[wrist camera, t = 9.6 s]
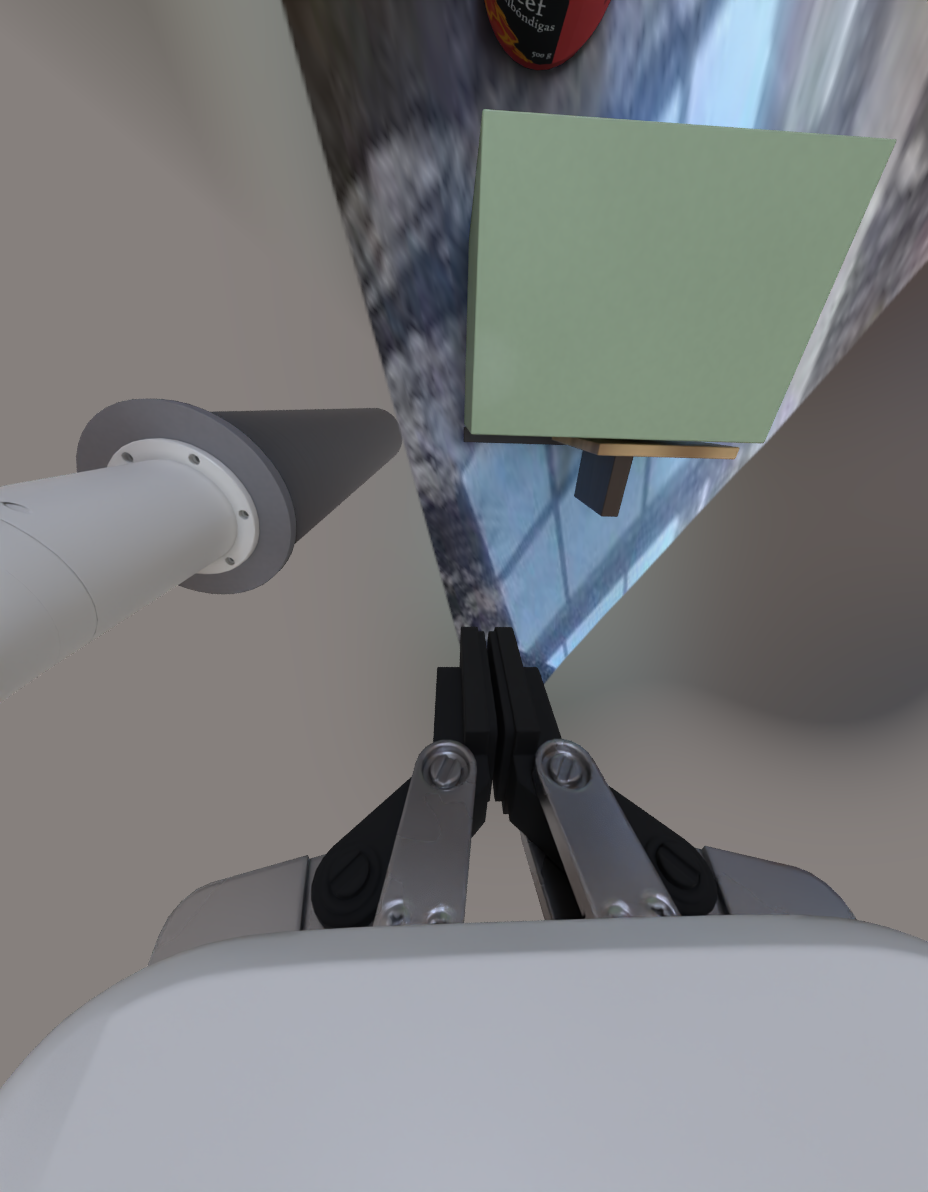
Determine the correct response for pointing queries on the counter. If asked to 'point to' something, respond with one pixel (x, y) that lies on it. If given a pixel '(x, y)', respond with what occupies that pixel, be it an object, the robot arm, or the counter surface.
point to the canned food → (544, 28)
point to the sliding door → (626, 465)
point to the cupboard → (650, 273)
